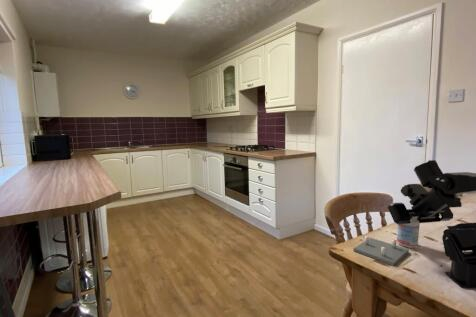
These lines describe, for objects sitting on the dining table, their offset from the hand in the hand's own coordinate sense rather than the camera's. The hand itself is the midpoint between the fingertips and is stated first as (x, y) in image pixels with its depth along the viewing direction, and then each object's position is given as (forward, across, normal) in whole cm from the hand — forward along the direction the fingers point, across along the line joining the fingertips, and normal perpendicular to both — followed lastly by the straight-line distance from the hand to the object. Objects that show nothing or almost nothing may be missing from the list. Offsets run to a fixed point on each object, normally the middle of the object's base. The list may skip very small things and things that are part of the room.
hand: (405, 222), depth 92 cm
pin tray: (+1, +12, +9) cm, 15 cm away
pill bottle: (+4, 0, +6) cm, 7 cm away
